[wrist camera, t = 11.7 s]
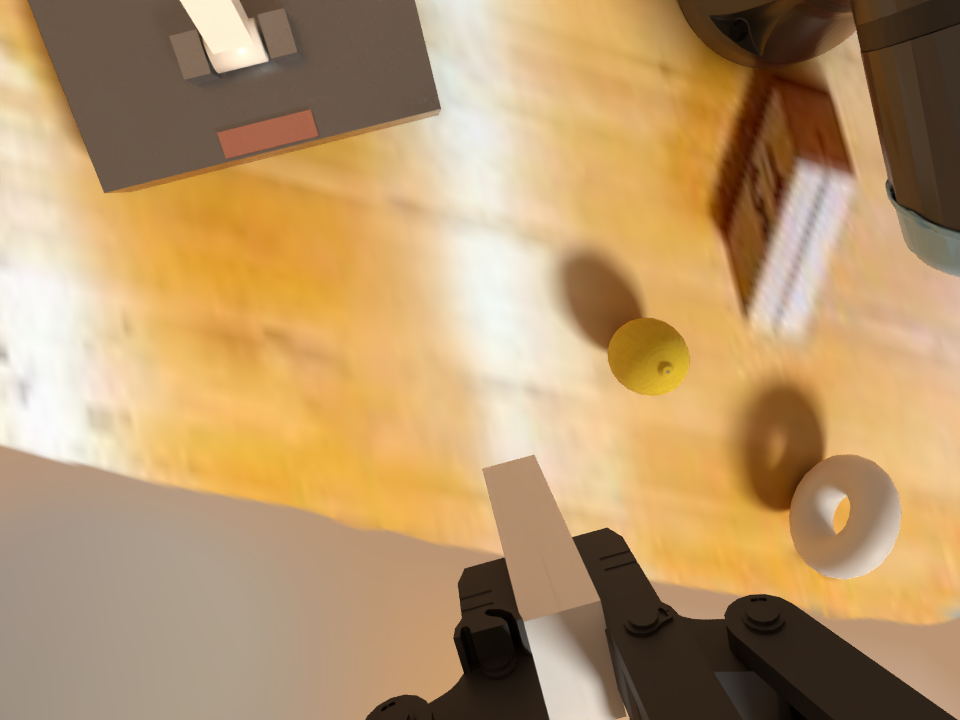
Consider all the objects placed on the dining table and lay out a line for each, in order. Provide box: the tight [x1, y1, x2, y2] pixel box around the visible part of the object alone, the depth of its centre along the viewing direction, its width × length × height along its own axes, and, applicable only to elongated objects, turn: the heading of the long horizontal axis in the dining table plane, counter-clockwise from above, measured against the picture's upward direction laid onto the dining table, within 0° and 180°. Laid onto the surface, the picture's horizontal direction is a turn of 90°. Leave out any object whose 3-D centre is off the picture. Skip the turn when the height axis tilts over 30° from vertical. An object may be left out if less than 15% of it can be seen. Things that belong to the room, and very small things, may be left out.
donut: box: [789, 455, 901, 579], centre depth 52 cm, size 10×3×10 cm, turn 159°
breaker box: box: [28, 0, 441, 193], centre depth 41 cm, size 22×12×6 cm, turn 104°
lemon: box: [608, 318, 690, 396], centre depth 48 cm, size 6×6×8 cm
